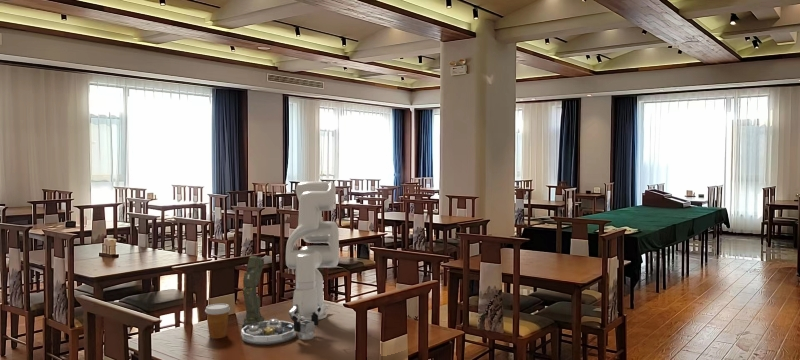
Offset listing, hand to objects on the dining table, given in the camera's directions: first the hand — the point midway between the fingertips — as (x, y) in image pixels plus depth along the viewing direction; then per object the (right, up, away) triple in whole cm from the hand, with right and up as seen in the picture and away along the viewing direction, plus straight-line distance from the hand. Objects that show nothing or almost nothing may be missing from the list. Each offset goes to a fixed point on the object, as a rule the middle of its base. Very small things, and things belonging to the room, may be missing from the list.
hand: (306, 328), depth 231 cm
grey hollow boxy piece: (0, -4, 0) cm, 4 cm away
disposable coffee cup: (-35, -4, +2) cm, 36 cm away
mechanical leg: (-25, -3, +18) cm, 31 cm away
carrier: (-15, -4, +2) cm, 15 cm away
